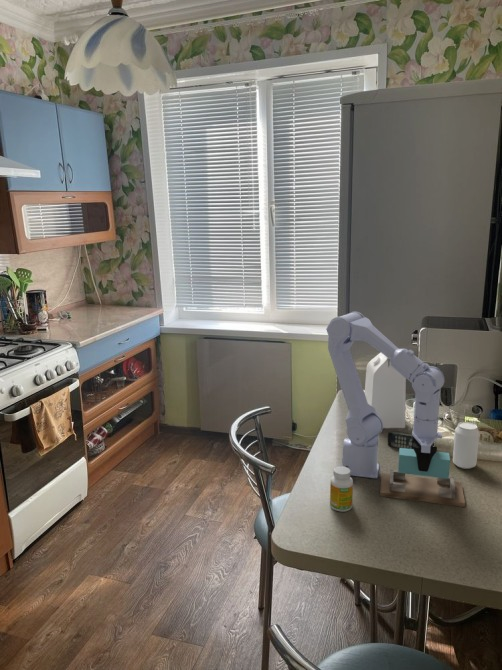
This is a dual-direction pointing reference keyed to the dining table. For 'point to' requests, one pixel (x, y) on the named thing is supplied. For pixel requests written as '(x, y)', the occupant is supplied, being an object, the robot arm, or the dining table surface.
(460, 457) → the beverage can
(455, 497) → the wooden bracket tray
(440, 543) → the dining table surface
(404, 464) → the teal rectangular block
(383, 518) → the dining table surface
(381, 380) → the milk
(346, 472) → the supplement bottle
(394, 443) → the mobile phone
